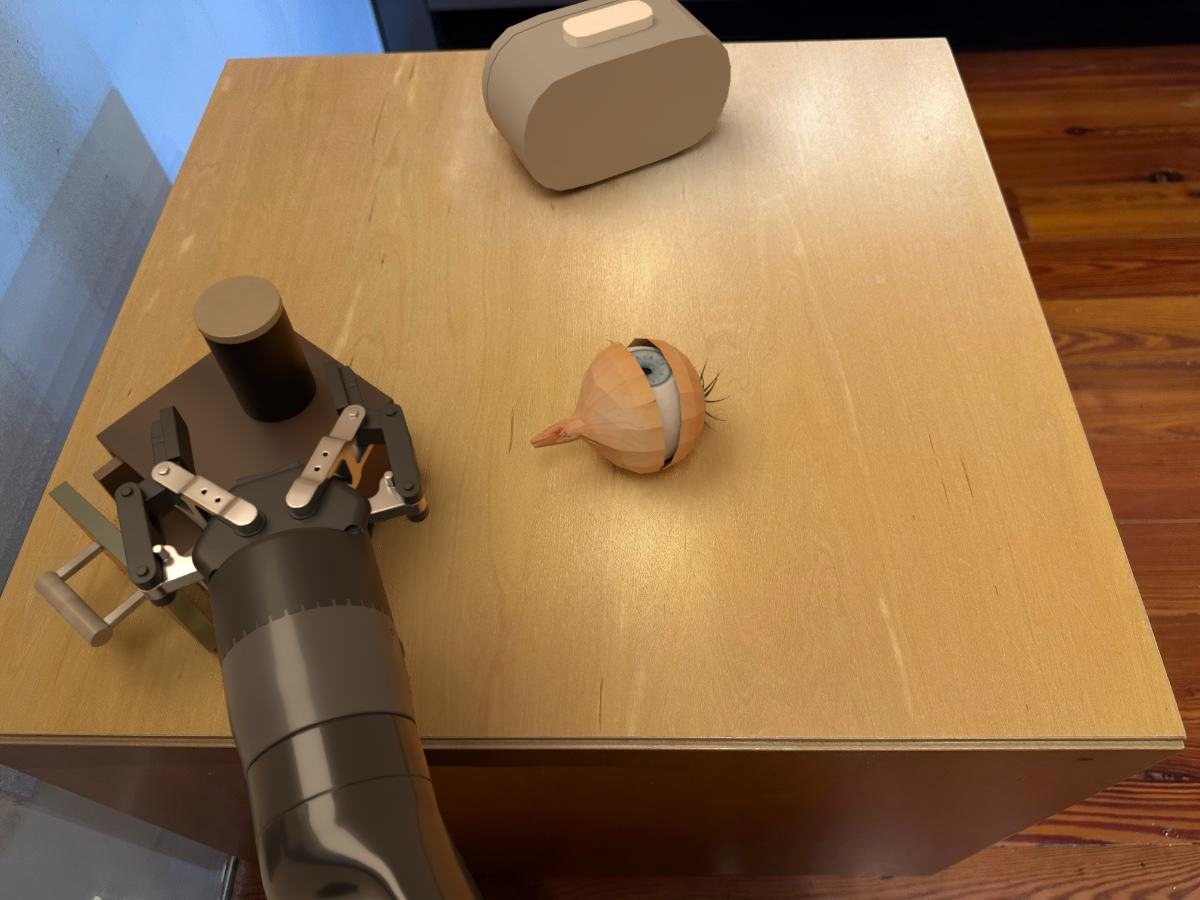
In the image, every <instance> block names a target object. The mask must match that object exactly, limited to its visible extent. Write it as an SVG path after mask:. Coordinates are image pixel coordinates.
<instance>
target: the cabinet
mask: <svg viewBox="0 0 1200 900" xmlns="http://www.w3.org/2000/svg"><path fill="white" fill-rule="evenodd" d="M294 332H295V334H296V337H297V339H298V341H299V344H300V346H301V348H302V351H303V353H304V356H305V358H306V360H307V363H308V365H309V367H310V370H311V372H312V375H313V377H314V379H315V383H316V392H315V395H314V398H313V400H312V401H311V403H310V404H309V405H308V407H307V408H305V409H304V410H303V411H302V412H301V413H299V414H298V415H296V416H294V417H292V418H290V419H287V420H284V421H279V422H262V421H258V420H255V419H253V418H251V417H250V416H248V415H247V414H246V413H245V412H244V410H243V409H242V407H241V405H240V403H239V401H238V399H237V398H236V396H235V394H234V392H233V390H232V388H231V387H230V385H229V383H228V381H227V379H226V377H225V375H224V374H223V372H222V370H221V368H220V366H219V364H218V363H217V361H216V359H215V357H214V355H213V353H212V352H211V351H210V352H208V353H207V354H206V355H204V356H203V357H201V358H200V359H199V360H198V361H196V362H195V363H194V364H192V365H190V366H189V367H188V368H186V369H185V370H184V371H182V372H181V373H180V374H178V375H177V376H175V377H174V378H173V379H171V380H170V381H169V382H168V383H166V384H164V385H163V386H162V387H161V388H159V389H158V390H156V391H155V392H154V393H152V394H151V395H150V396H148V397H147V398H146V399H144V400H142V401H141V402H140V403H139V404H137V405H136V406H135V407H133V408H132V409H130V410H129V411H128V412H127V413H125V414H124V415H122V416H121V417H120V418H118V419H117V420H115V421H114V422H112V423H111V424H110V425H108V426H107V427H106V428H104V429H103V430H102V431H100V432H99V433H98V434H96V435H95V438H96V439H97V440H98V441H99V443H100V444H101V445H102V447H103V448H104V449H105V450H106V452H107V453H108V454H109V455H110V456H111V459H113V458H114V457H117V458H119V459H120V460H121V461H122V462H123V463H124V464H125V465H127V466H128V467H129V468H130V469H131V470H132V471H133V472H135V473H136V474H137V475H138V476H139V477H140V478H141V479H143V480H145V479H147V478H148V477H149V476H150V475H151V473H152V470H153V468H154V467H155V464H154V457H153V449H152V441H151V434H150V429H151V426H152V423H153V422H154V421H157V420H161V419H160V412H159V411H160V409H163V408H167V407H170V406H175V407H176V409H177V410H178V412H179V413H180V415H181V417H182V418H183V420H184V421H185V423H186V425H187V428H188V431H189V435H190V441H191V447H192V454H193V460H194V466H195V472H196V476H197V475H201V476H202V477H204V478H206V479H207V480H209V481H211V482H213V483H214V484H216V485H218V486H219V487H221V488H223V489H224V490H226V491H228V490H230V489H231V488H232V487H234V486H235V485H237V483H236V480H237V479H240V478H243V477H247V476H250V475H257V474H267V473H270V472H272V471H274V470H275V469H277V468H279V467H281V466H283V465H285V464H289V463H292V462H295V461H298V460H299V462H300V464H301V465H302V464H307V463H308V462H309V460H310V458H311V456H312V455H313V453H314V451H315V449H316V448H317V446H318V444H319V442H320V440H321V439H322V437H324V436H329V435H330V433H331V431H332V430H333V428H334V426H335V424H336V423H337V421H338V419H339V415H338V413H337V410H336V407H335V404H334V400H333V397H332V393H331V390H330V386H329V383H328V379H327V376H326V372H325V369H324V365H323V363H324V362H327V361H331V360H334V359H335V357H333V356H332V355H330V354H329V353H327V352H326V351H324V350H323V349H321V348H320V346H317V345H316V344H315V343H313V342H311V340H308V339H307V338H305V337H304V336H303V335H302V334H300V333H299V332H297V331H296V330H294ZM336 361H337V364H338V367H339V368H340V367H344V366H345V365H344V364H343V363H342V362H340V361H339V360H337V359H336ZM353 372H354V371H353ZM354 374H355V377H356V380H357V383H358V385H359V388H360V391H361V395H362V398H363V401H364V404H365V406H366V407H367V408H369V409H372V410H380V409H381V408H382V407H383V406H385V405H387V404H391V403H393V404H395V401H394V398H392V397H391V396H389V395H388V394H386V393H384V392H383V391H382V390H381V389H379V388H378V387H376V386H375V385H374V384H372V383H370V382H369V381H368V380H366V379H365V378H364V377H361V376H360V375H359V374H358V373H356V372H354ZM387 471H392V469H391V465H390V461H389V456H388V452H387V448H386V444H374V445H373V447H372V449H371V451H370V453H369V455H368V457H367V459H366V461H365V463H364V465H363V467H362V470H361V479H360V482H359V484H358V486H357V488H356V490H358V491H360V492H361V493H363V494H364V495H365V496H366V497H367V498H368V499H369V498H372V497H373V496H375V495H376V494H377V493H378V491H379V483H380V480H381V479H382V477H383V475H384V473H385V472H387ZM174 507H175V506H174ZM175 508H176V509H177V510H178V511H179V512H181V513H182V514H183V515H184V516H185V517H186V518H187V519H189V520H190V521H191V522H192V523H193V524H194V525H196V526H197V527H198V528H199V529H200V530H201V531H202V532H203V530H204V529H205V527H204V526H203V525H202V524H201V523H200V522H199V521H197V520H196V519H195V518H193V517H191V516H190V515H188V514H186V513H185V512H183V511H182V510H180V509H178V508H177V507H175Z"/></svg>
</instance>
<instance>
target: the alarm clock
mask: <svg viewBox="0 0 1200 900" xmlns="http://www.w3.org/2000/svg"><path fill="white" fill-rule="evenodd" d="M731 75H732V65H731V61H730V56H729V53H728V49H727V48H726V47H725V46H724V44H723V43H722V42H721V40H720V39H719V38H718V37H717V36H716V35H715V34H713V32H711V31H710V30H709V29H708V28H707V27H706V26H705V25H704V24H703V23H702V22H701V21H699V20H698V19H697V18H696V17H695V16H694V15H693V14H692V13H691V12H690V11H689V10H688V9H687V8H685V6H683V5H682V4H681V3H680V2H679V1H678V0H586V1H581V2H577V3H575V4H571V5H568V6H564V7H561V8H557V9H555V10H550V11H547V12H544V13H540V14H538V15H535V16H533V17H530V18H528V19H526V20H524V21H521V22H519V23H516V24H513V25H512V26H509V27H507V28H506V29H505V30H504V32H503V33H501V34H500V35H499V36H498V38H496V40H495V41H494V42H493V43H492V45H491V47H490V48H489V51H488V53H487V55H486V56H485V60H484V64H483V69H482V75H481V92H482V99H483V103H484V106H485V110H486V113H487V114H488V116H489V119H490V120H491V122H492V124H493V126H494V127H495V128H496V130H497V131H498V132H499V134H500V135H501V137H502V138H503V139H504V140H505V142H506V143H507V145H508V146H509V147H510V148H511V150H512V151H513V153H514V154H515V156H517V158H518V160H519V161H520V162H521V163H522V165H523V166H524V168H525V169H526V170H527V171H528V173H529V174H530V175H531V177H532V178H533V180H535V181H536V182H537V183H538V184H540V185H541V186H542V187H543V188H545V189H546V188H547V189H552V190H555V191H560V192H561V191H566V190H574V189H577V188H579V187H584V186H588V185H591V184H594V183H595V184H596V183H598V182H600V181H603V180H607V179H609V178H612V177H615V176H617V175H620V174H623V173H625V172H626V173H627V172H629V171H632V170H634V169H637V168H641V167H643V166H647V165H649V164H652V163H654V162H657V161H660V160H663V159H666V158H669V157H671V156H674V155H676V154H677V153H679V152H682V151H684V150H686V149H688V148H690V147H693V146H694V145H696V144H698V143H699V142H700V141H701V140H703V138H704V137H706V135H708V133H710V132H711V131H712V130H713V128H714V126H715V125H716V123H717V122H718V120H719V119H720V118H721V116H722V114H723V110H724V108H725V107H726V106H725V105H726V104H727V100H728V97H729V92H730V86H731V80H732V79H731V77H732V76H731Z"/></svg>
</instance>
